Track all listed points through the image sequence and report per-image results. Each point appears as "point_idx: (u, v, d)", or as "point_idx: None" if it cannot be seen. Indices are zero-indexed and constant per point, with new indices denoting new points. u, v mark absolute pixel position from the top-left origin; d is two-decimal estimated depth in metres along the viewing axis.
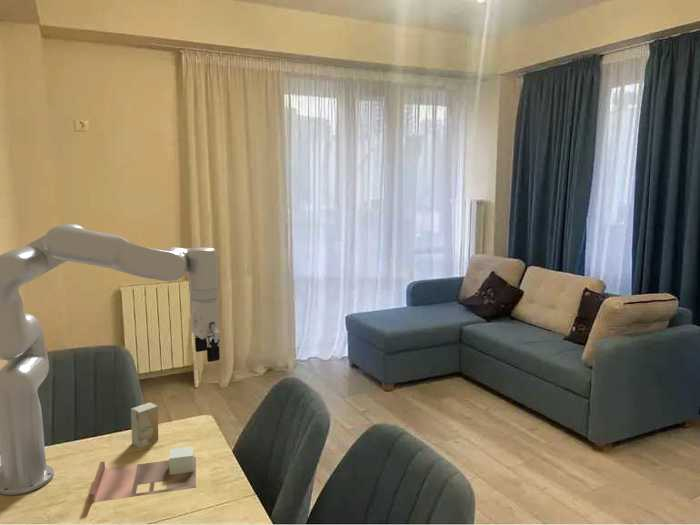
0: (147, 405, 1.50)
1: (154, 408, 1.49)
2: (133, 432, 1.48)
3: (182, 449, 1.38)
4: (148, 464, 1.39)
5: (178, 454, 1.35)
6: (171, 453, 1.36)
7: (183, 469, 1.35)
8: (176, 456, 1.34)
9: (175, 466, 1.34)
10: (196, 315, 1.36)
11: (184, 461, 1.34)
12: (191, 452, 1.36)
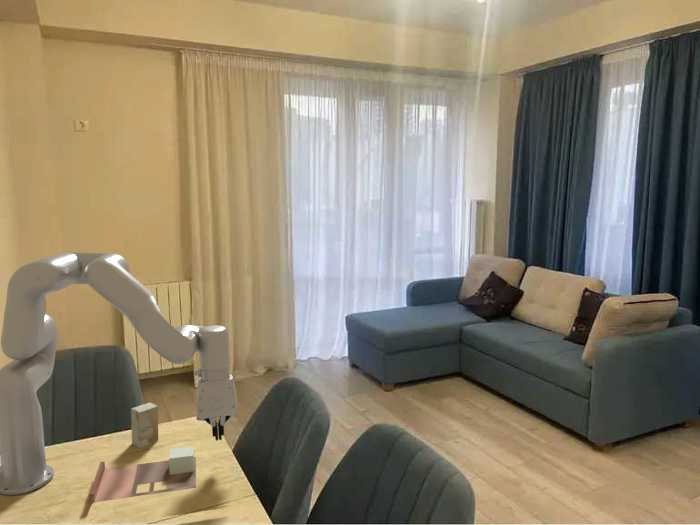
0: (147, 405, 1.50)
1: (154, 408, 1.49)
2: (133, 432, 1.48)
3: (182, 449, 1.38)
4: (148, 464, 1.39)
5: (178, 454, 1.35)
6: (171, 453, 1.36)
7: (183, 469, 1.35)
8: (176, 456, 1.34)
9: (175, 466, 1.34)
10: (221, 395, 1.34)
11: (184, 461, 1.34)
12: (191, 452, 1.36)
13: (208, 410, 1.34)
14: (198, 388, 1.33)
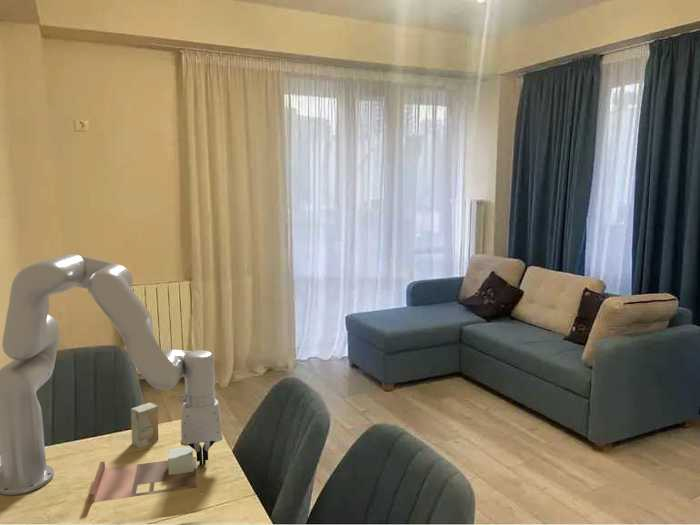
0: (147, 405, 1.50)
1: (154, 408, 1.49)
2: (133, 432, 1.48)
3: (182, 450, 1.38)
4: (148, 464, 1.39)
5: (177, 455, 1.35)
6: (170, 453, 1.36)
7: (182, 469, 1.35)
8: (175, 456, 1.34)
9: (174, 466, 1.34)
10: (206, 420, 1.34)
11: (183, 461, 1.34)
12: (190, 452, 1.36)
13: (192, 435, 1.34)
14: (183, 413, 1.33)
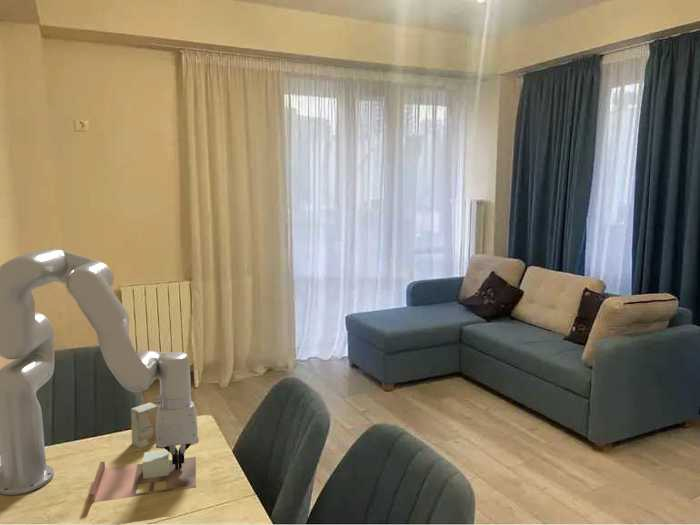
0: (147, 405, 1.50)
1: (154, 408, 1.49)
2: (133, 432, 1.48)
3: (157, 453, 1.36)
4: None
5: (152, 458, 1.33)
6: (145, 456, 1.34)
7: (157, 473, 1.33)
8: (150, 459, 1.32)
9: (148, 470, 1.32)
10: (181, 423, 1.32)
11: (158, 464, 1.33)
12: (166, 456, 1.34)
13: (167, 438, 1.32)
14: (157, 416, 1.31)
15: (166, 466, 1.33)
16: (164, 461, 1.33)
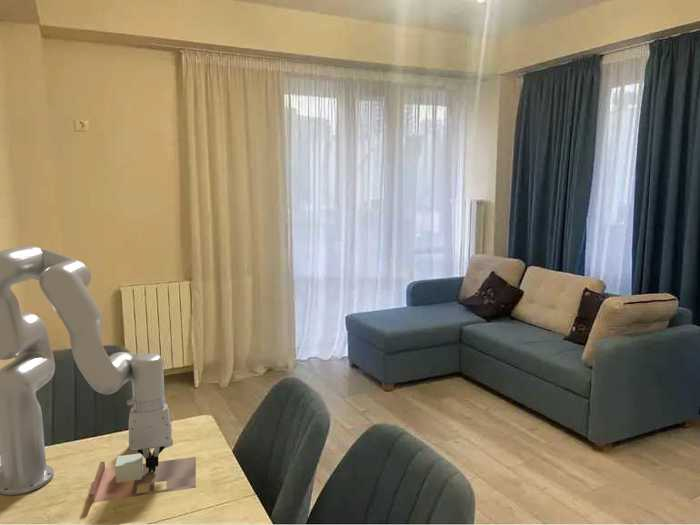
0: None
1: None
2: None
3: (131, 457, 1.34)
4: None
5: (125, 462, 1.31)
6: (118, 460, 1.32)
7: (130, 477, 1.31)
8: (122, 463, 1.30)
9: (121, 474, 1.30)
10: (154, 425, 1.31)
11: (131, 468, 1.31)
12: (139, 459, 1.32)
13: (140, 441, 1.30)
14: (130, 419, 1.29)
15: (139, 470, 1.31)
16: (137, 465, 1.31)
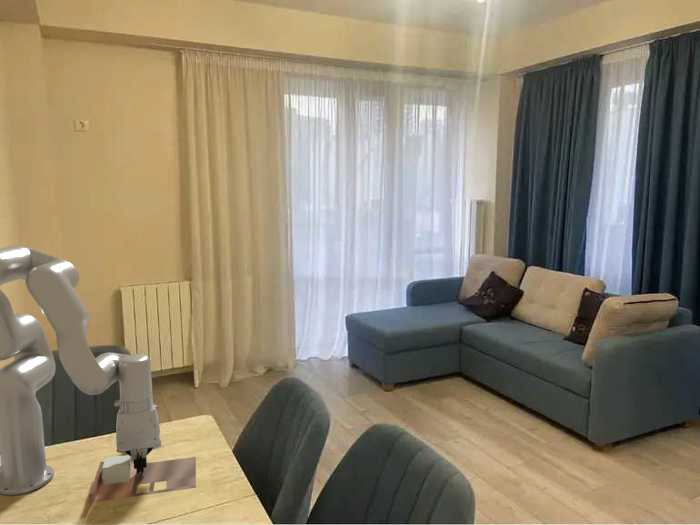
0: None
1: None
2: None
3: (118, 458, 1.33)
4: (148, 464, 1.39)
5: (113, 464, 1.30)
6: (106, 462, 1.31)
7: (118, 479, 1.30)
8: (110, 465, 1.30)
9: (109, 476, 1.29)
10: (142, 426, 1.30)
11: (119, 470, 1.30)
12: (127, 461, 1.31)
13: (128, 442, 1.29)
14: (117, 420, 1.29)
15: (127, 472, 1.30)
16: (125, 467, 1.30)
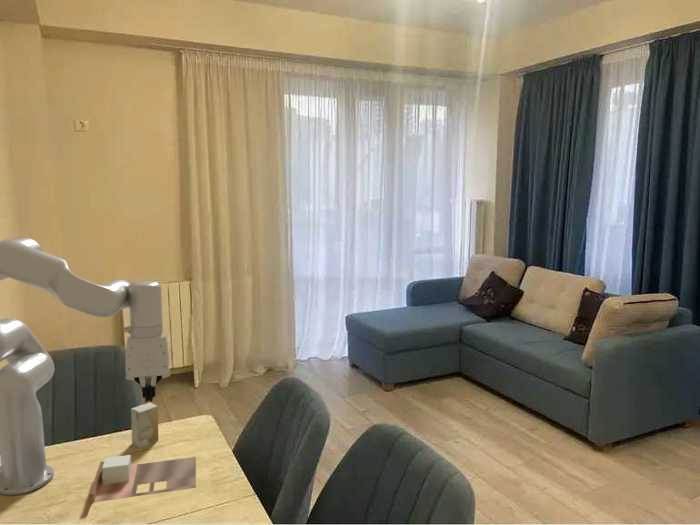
0: (147, 405, 1.50)
1: (154, 408, 1.49)
2: (133, 432, 1.48)
3: (118, 458, 1.33)
4: (148, 464, 1.39)
5: (113, 464, 1.30)
6: (106, 462, 1.31)
7: (118, 479, 1.30)
8: (110, 465, 1.30)
9: (109, 476, 1.29)
10: (151, 353, 1.28)
11: (119, 470, 1.30)
12: (127, 461, 1.31)
13: (137, 369, 1.28)
14: (127, 345, 1.27)
15: (127, 472, 1.30)
16: (125, 467, 1.30)
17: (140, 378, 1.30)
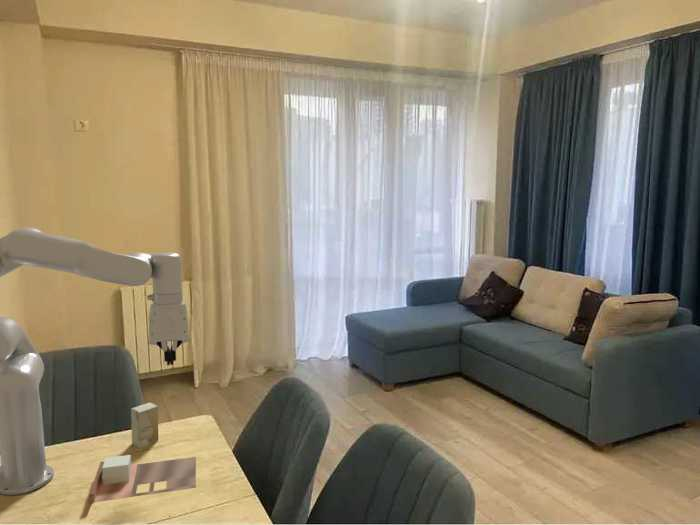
0: (147, 405, 1.50)
1: (154, 408, 1.49)
2: (133, 432, 1.48)
3: (118, 458, 1.33)
4: (148, 464, 1.39)
5: (113, 464, 1.30)
6: (106, 462, 1.31)
7: (118, 479, 1.30)
8: (110, 465, 1.30)
9: (109, 476, 1.29)
10: (173, 319, 1.38)
11: (119, 470, 1.30)
12: (127, 461, 1.31)
13: (159, 333, 1.38)
14: (150, 311, 1.37)
15: (127, 472, 1.30)
16: (125, 467, 1.30)
17: (162, 343, 1.40)
